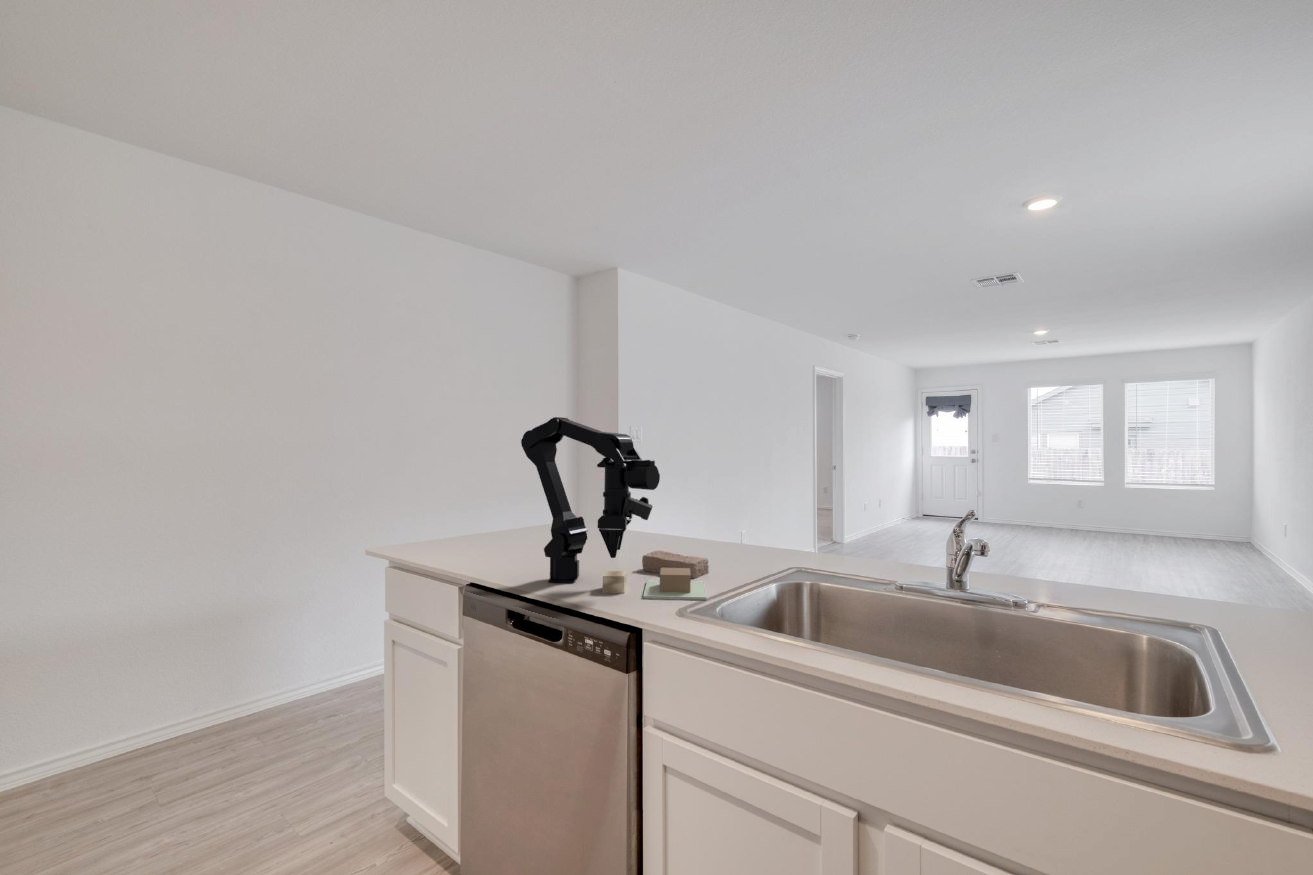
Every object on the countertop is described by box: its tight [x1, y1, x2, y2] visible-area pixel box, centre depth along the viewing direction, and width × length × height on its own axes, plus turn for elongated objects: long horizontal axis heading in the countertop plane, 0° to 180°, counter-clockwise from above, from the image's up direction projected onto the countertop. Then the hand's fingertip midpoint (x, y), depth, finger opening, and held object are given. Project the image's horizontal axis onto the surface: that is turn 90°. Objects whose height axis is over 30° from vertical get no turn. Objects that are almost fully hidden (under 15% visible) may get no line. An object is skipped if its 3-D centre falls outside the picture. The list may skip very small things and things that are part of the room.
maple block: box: [601, 570, 627, 594], centre depth 136 cm, size 5×5×4 cm
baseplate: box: [642, 568, 707, 601], centre depth 135 cm, size 14×14×5 cm
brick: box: [641, 549, 710, 579], centre depth 155 cm, size 16×8×5 cm, turn 58°
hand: (615, 553), depth 136 cm, fingers open, 9 cm apart
